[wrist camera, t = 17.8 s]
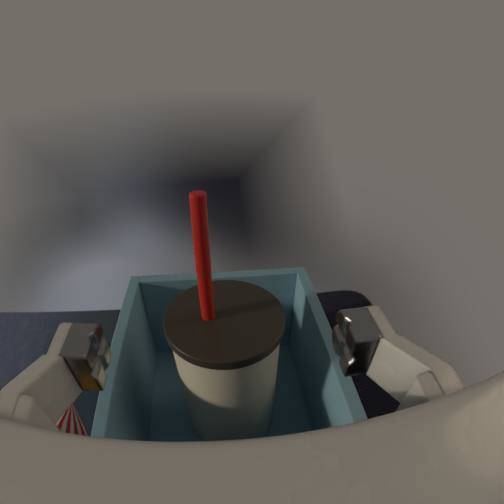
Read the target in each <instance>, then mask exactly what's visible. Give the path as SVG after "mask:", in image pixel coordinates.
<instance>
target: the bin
mask: <svg viewBox="0 0 504 504" xmlns="http://www.w3.org/2000/svg"><path fill="white" fill-rule="evenodd" d="M216 280H238V281H244V282H248V283H252V284H255V285H257V286H260V287H262V288H264V289H266V290H267V291H269V292H270V293H272V294H273V295H274V296H275V297H276V298H277V299H278V300H279V302H280V303H281V305H282V307H283V309H284V312H285V316H286V324H285V331H284V335H283V338H282V340H281V342H280V346H279V357H278V367H277V376H276V386H275V395H274V404H273V413H272V421H271V425H270V428H269V430H268V431H267V433H266V434H265V436H264V437H271V436H279V435H287V434H294V433H301V432H307V431H313V430H319V429H324V428H330V427H335V426H340V425H344V424H349V423H354V422H358V421H362V420H366V419H367V416H366V413H365V411H364V408H363V406H362V403H361V401H360V398H359V395H358V393H357V390H356V388H355V385H354V383H353V380H352V378H351V376H347V377H344V374H343V372H342V369H341V367H340V364H339V361H340V356H338V355H337V354H336V353H335V351H334V349H333V345H332V329H331V327H330V325H329V322H328V320H327V318H326V315H325V313H324V311H323V308H322V306H321V304H320V301H319V299H318V297H317V294H316V292H315V290H314V288H313V285H312V283H311V281H310V278H309V276H308V274H307V272H306V270H305V267H295V268H279V269H264V270H248V271H231V272H214V273H212V281H216ZM195 285H198V282H197V273H195V274H177V275H154V276H141V277H140V276H134V277H131V279H130V283H129V285H128V289H127V292H126V295H125V298H124V301H123V305H122V308H121V311H120V315H119V318H118V322H117V325H116V329H115V332H114V336H113V339H112V343H111V347H110V351H111V360H110V365H109V367H108V368H107V369H106V370H105V373H106V375H107V378H106V382H105V386H104V391H100V392H99V397H98V402H97V406H96V411H95V416H94V422H93V427H92V432H91V436H92V437H101V438H111V439H122V440H137V441H160V442H201V441H204V440H203V439H202V438H201V437H200V436H199V434H198V433H197V432H196V430H195V428H194V425H193V422H192V418H191V415H190V412H189V409H188V405H187V402H186V398H185V395H184V391H183V388H182V384H181V380H180V377H179V373H178V369H177V365H176V362H175V358H174V354H173V350H172V349H171V347H170V346H169V344H168V342H167V340H166V337H165V333H164V328H163V318H164V314H165V311H166V309H167V307H168V306H169V304H170V303H171V302H172V300H173V299H174V298H175V297H177V296H178V295H179V294H180V293H182V292H183V291H185V290H187V289H188V288H191V287H193V286H195Z"/></svg>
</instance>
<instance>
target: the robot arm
mask: <svg viewBox="0 0 504 504" xmlns="http://www.w3.org/2000/svg"><path fill="white" fill-rule="evenodd" d="M335 319H336V321H337V325H336V326H335V327H334V328H333V332H332V345H333V349H334V351H335V353H336V354H337V355H338V356H340V361H339V364H340V367H341V369H342V372H343V374H344V377H347V376H354V375H360V374H366V373H367V374H366V375H368V376H369V377H370V378H371V379H372V380H373V381H375V382H376V383H377V384H378V385H379V386H381V387H382V388H383V389H384V390H385V391H386V392H388V393H389V394H390V395H391V396H392V397H394V398H395V399H396V400H397V401H398V402H400V405H399V406H398V408H397V409H396V411H395V412H393V413H389V414H386V415H382V416H378V417H374V418H370V419H366V420H362V421H358V422H354V423H349V424H344V425H340V426H335V427H330V428H324V429H319V430H313V431H307V432H301V433H294V434H287V435H279V436H271V437H262V438H252V439H240V440H225V441H201V442H160V441H137V440H122V439H111V438H101V437H92V436H85V435H77V434H71V433H64V432H61V430H60V429H59V428H58V427H57V426H56V425H55V424H56V422H57V421H58V420H59V419H60V417H61V416H62V415H63V414H64V413H65V411H66V410H67V409H68V408H69V407H70V406H71V404H72V403H73V402H74V401H75V400H76V398H77V397H78V396H79V395H80V394H81V393H82V390H92V391H104V386H105V382H106V378H107V375H106V373H105V370H106V369H107V368H108V367H109V365H110V360H111V351H110V346H109V343H108V341H107V340H106V339H105V338H103V337H102V336H103V333H104V331H103V329H102V326H101V325H100V324H95V323H65V322H62V323H61V324H60V325H59V327H58V329H57V331H56V334H55V336H54V338H53V340H52V343H51V345H50V347H49V350H48V352H47V355H42V356H41V357H40V358H39V359H37V360H36V361H35V362H34V363H32V364H31V365H30V366H29V367H27V368H26V369H25V370H24V371H23V372H21V373H20V374H19V375H18V376H17V377H15V378H14V379H13V380H12V381H11V382H9V383H8V384H7V385H6V386H5V387H3V388H2V389H1V391H0V504H504V371H503V372H501V373H499V374H497V375H494V376H492V377H490V378H488V379H486V380H483V381H481V382H479V383H476V384H474V385H472V386H469V387H466V388H465V387H464V385H463V383H462V382H461V380H460V378H459V377H458V375H457V373H456V372H455V370H454V369H453V367H452V365H451V364H450V363H448V362H447V361H445V360H443V359H442V358H440V357H438V356H437V355H435V354H433V353H431V352H430V351H428V350H426V349H425V348H423V347H421V346H420V345H418V344H416V343H414V342H413V341H411V340H409V339H408V338H406V337H404V336H402V335H397V334H396V332H395V330H394V329H393V327H392V325H391V324H390V322H389V320H388V319H387V317H386V316H385V314H384V312H383V311H382V309H381V308H380V306H378V305H373V306H366V307H359V308H352V309H344V310H338V312H337V314H336V318H335Z"/></svg>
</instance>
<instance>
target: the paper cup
mask: <svg viewBox="0 0 504 504" xmlns="http://www.w3.org/2000/svg"><path fill="white" fill-rule="evenodd" d="M189 199H190V211H191V223H192V233H193V244H194V254H195V263H196V273H197V282H198V285H195V286H193V287H191V288H188V289H187V290H185V291H183V292H182V293H180V294H179V295H178V296H177V297H175V298H174V299H173V300H172V302H171V303H170V304H169V306H168V307H167V309H166V311H165V314H164V318H163V328H164V333H165V337H166V340H167V342H168V344H169V346H170V347H171V349H172V350H173V354H174V358H175V362H176V365H177V369H178V373H179V377H180V380H181V384H182V388H183V391H184V395H185V398H186V402H187V405H188V409H189V412H190V415H191V418H192V422H193V425H194V428H195V430H196V432H197V433H198V434H199V436H200V437H201V438H202V439H203V440H204V441H225V440H240V439H252V438H262V437H264V436H265V434H266V433H267V431H268V430H269V428H270V425H271V421H272V413H273V404H274V395H275V386H276V376H277V367H278V357H279V346H280V342H281V340H282V338H283V335H284V331H285V324H286V316H285V312H284V309H283V307H282V305H281V303H280V302H279V300H278V299H277V298H276V297H275V296H274V295H273V294H272V293H270V292H269V291H267V290H266V289H264V288H262V287H260V286H257V285H255V284H252V283H248V282H244V281H238V280H216V281H212V273H211V260H210V247H209V233H208V216H207V202H206V201H207V199H206V193H205V192H204V191H200V190H198V191H193V192H191V193H190V195H189Z"/></svg>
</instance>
